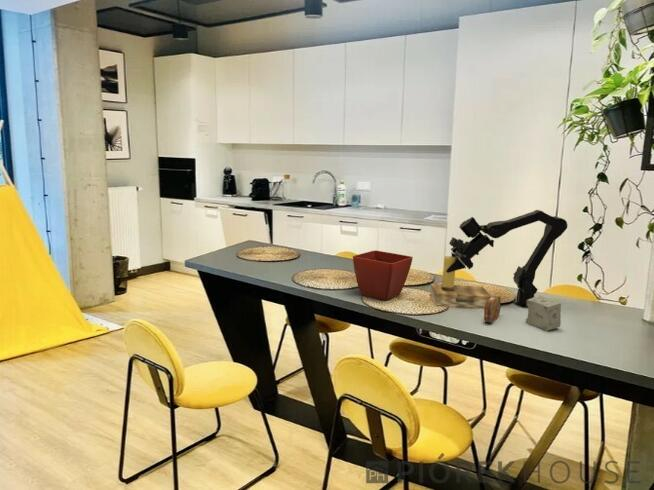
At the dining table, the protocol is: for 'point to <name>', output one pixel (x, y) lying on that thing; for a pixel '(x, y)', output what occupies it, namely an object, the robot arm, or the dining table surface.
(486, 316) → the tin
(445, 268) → the yellow block
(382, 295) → the plant pot
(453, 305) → the tan flat piece
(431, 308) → the dining table surface
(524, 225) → the robot arm
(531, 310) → the grey concrete block
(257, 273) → the dining table surface
